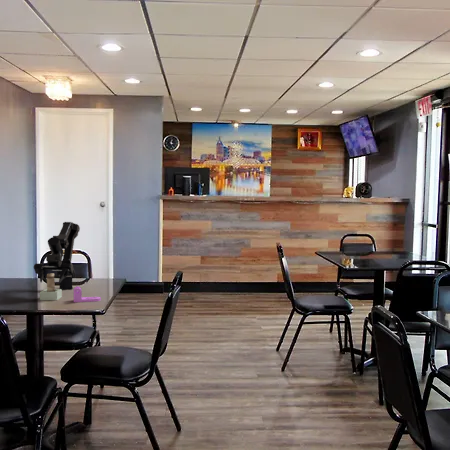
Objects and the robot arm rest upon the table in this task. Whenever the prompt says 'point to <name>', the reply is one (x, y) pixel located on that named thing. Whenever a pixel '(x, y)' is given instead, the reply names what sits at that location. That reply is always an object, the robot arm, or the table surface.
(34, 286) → the table surface
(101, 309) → the table surface
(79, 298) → the bracket
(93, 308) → the table surface
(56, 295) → the square frame
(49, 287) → the beige cylinder
